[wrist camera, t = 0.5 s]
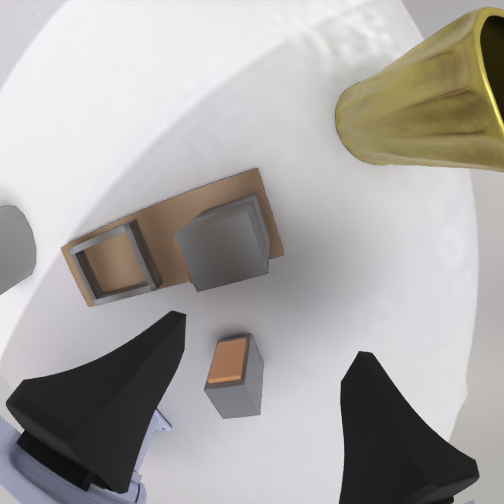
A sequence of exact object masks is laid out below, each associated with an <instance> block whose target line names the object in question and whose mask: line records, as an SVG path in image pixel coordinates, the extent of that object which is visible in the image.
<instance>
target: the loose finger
mask: <svg viewBox="0 0 504 504" xmlns="http://www.w3.org/2000/svg"><path fill="white" fill-rule="evenodd" d="M263 370H264V363H263V361H262V358H261V356H260V353H259V351H258V349H257V346H256V344H255V341H254V339H253V336H252V334H247V335H243V336H238V337H233V338H228V339H223V340H218V343H217V347H216V350H215V353H214V357H213V360H212V364H211V367H210V370H209V374H208V377H207V381H206V384H205V387H204V391H205V392H206V394H207V396H208V397H209V399H210V400H211V402H212V403H213V405H214V406H215V408H216V409H217V411H218V412H219V414H220V415H221V417H222V418H223V419H227V418H238V417H247V416H255V415H260V411H261V398H262V384H263Z"/></svg>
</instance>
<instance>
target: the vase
mask: <svg viewBox="0 0 504 504" xmlns="http://www.w3.org/2000/svg"><path fill="white" fill-rule="evenodd" d="M336 127H337V131H338V134H339V136H340V138H341V140H342V142H343V144H344V145H345V146H346V148H347V149H348V150H349V151H350V152H351V153H352V154H353V155H355V156H356V157H357V158H358V159H360V160H362V161H364V162H366V163H370V164H374V165H388V164H394V165H421V166H430V167H433V166H436V167H450V168H471V169H482V170H492V171H498V172H504V10H502V9H499V8H495V7H485V8H480V9H476V10H474V11H471V12H469V13H467V14H465V15H463V16H461V17H460V18H458V19H456V20H455V21H453V22H452V23H450V24H448V25H446V26H445V27H443V28H442V29H440V30H439V31H437V32H436V33H435V34H433V35H432V36H430V37H429V38H427V39H426V40H424V41H423V42H421V43H420V44H418V45H417V46H415V47H414V48H412V49H411V50H410V51H408V52H407V53H406V54H405V55H403V56H402V57H400V58H399V59H397V60H396V61H394V62H393V63H391V64H390V65H388V66H387V67H385V68H384V69H383V70H382V71H380V72H379V73H377V74H376V75H374V76H372V77H370V78H368V79H367V80H365V81H363V82H359V83H357V84H355V85H353V86H351V87H349V88H348V89H347V90H346V91H345V92H344V93H343V94H342V96H341V97H340V99H339V101H338V104H337V107H336Z"/></svg>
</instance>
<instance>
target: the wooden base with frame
mask: <svg viewBox="0 0 504 504" xmlns="http://www.w3.org/2000/svg"><path fill="white" fill-rule="evenodd" d="M61 250H62V252H63V255H64V257H65V259H66V262H67V264H68V266H69V269H70V271H71V273H72V275H73V277H74V279H75V281H76V283H77V286H78V288H79V290H80V292H81V294H82V296H83V298H84V299H85V301H86V303H87V305H88V307H92V306H97V305H101V304H105V303H109V302H113V301H117V300H121V299H124V298H128V297H132V296H136V295H140V294H144V293H148V292H151V291H155V290H158V289H161V288H165V287H169V286H172V285H176V284H180V283H184V282H187V281H190V282H191V283H194V286H195V288H196V290H197V292H199V291H203V290H207V289H211V288H215V287H219V286H223V285H226V284H230V283H234V282H238V281H242V280H246V279H249V278H253V277H257V276H261V275H264V274H268V266H269V259H272V258H275V257H279V256H282V255H284V252H283V247H282V244H281V240H280V237H279V234H278V231H277V227H276V224H275V221H274V218H273V215H272V211H271V208H270V205H269V202H268V199H267V196H266V193H265V190H264V187H263V183H262V180H261V177H260V174H259V171H258V168H256V169H253V170H250V171H247V172H244V173H241V174H238V175H235V176H232V177H229V178H226V179H223V180H220V181H217V182H214V183H211V184H208V185H206V186H203V187H200V188H197V189H194V190H192V191H189V192H186V193H184V194H181V195H178V196H176V197H173V198H171V199H168V200H166V201H163V202H161V203H158V204H156V205H153V206H151V207H148V208H146V209H143V210H141V211H138V212H136V213H134V214H131V215H129V216H127V217H124V218H122V219H120V220H118V221H115V222H113V223H111V224H109V225H106V226H104V227H102V228H100V229H98V230H95V231H93V232H91V233H89V234H87V235H85V236H83V237H81V238H79V239H77V240H74V241H72V242H70V243H68V244H67V245H65V246H63V247H61Z"/></svg>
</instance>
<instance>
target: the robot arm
mask: <svg viewBox="0 0 504 504" xmlns="http://www.w3.org/2000/svg"><path fill="white" fill-rule="evenodd" d="M185 327H186V314H183V313H179V312H176V311H170V312H169V313H167V314H166V315H165V316H164V317H162V318H161V319H160V320H158V321H157V322H156V323H154V324H153V325H152V326H150V327H149V328H148V329H146V330H145V331H143V332H142V333H141V334H139V335H138V336H136V337H135V338H133V339H132V340H130V341H129V342H127V343H125V344H124V345H122V346H121V347H119V348H117V349H116V350H114V351H112V352H110V353H108V354H107V355H105V356H103V357H100V358H98V359H96V360H94V361H92V362H89V363H87V364H85V365H82V366H79V367H77V368H74V369H71V370H68V371H65V372H61V373H57V374H54V375H49V376H45V377H39V378H33V379H26V380H23V381H22V382H21V383H20V385H19V386H18V387H17V388H16V390H15V391H14V392H13V394H12V395H11V396H10V397H9V398H8V400H7V401H6V406H7V408H8V410H9V411H10V413H11V414H12V415H13V417H14V418H15V419H16V420H17V422H18V423H19V424H20V425H21V426H22V427H23V429H25V430H24V432H23V433H22V435H21V434H20V433H19V432H18V431H17V430H16V429H15V428H14V427H13V426H12V425H10V424H9V423H8V422H7V421H6V420H5V419H4V418H2V417H1V416H0V485H1V486H2V487H3V488H4V489H5V490H6V491H7V492H8V493H9V494H10V495H11V496H12V497H13V498H14V499H15V500H16V501H17V502H18V503H19V504H145V503H146V498H147V492H146V489H145V486H144V484H143V483H141V482H140V480H141V477H142V476H141V475H139V474H138V472H139V469H140V467H141V464H142V461H143V459H144V456H145V454H146V451H147V449H148V446H149V444H150V441H151V439H152V436H153V433H154V431H171V427H170V425H169V424H168V423H167V422H166V421H165V420H164V418H163V417H162V416H161V415H160V413H159V412H158V411H157V410H156V408H157V406H158V404H159V402H160V401H161V399H162V397H163V395H164V393H165V391H166V389H167V387H168V386H169V384H170V382H171V380H172V378H173V376H174V374H175V372H176V370H177V368H178V365H179V363H180V360H181V358H182V355H183V352H184V348H185ZM340 405H341V415H342V425H343V436H344V470H343V479H342V488H341V494H340V500H339V504H452V503H453V502H454V498H453V496H454V495H456V494H457V493H459V492H461V491H462V490H464V489H466V488H467V487H469V486H470V485H472V484H473V483H474V482H476V481H477V480H478V479H479V471H478V467H477V463H476V460H474V459H472V458H471V457H469V456H467V455H465V454H464V453H462V452H460V451H459V450H457V449H456V448H455V447H453V446H452V445H450V444H449V443H448V442H446V441H445V440H444V439H443V438H441V437H440V436H439V435H438V434H437V433H436V432H435V431H434V430H432V429H431V428H430V427H429V426H428V425H427V424H426V423H425V422H424V421H423V419H422V418H421V417H420V416H419V415H418V414H417V413H416V412H415V411H414V409H413V408H412V407H411V406H410V405H409V403H408V402H407V401H406V400H405V398H404V397H403V396H402V394H401V393H400V392H399V390H398V389H397V387H396V386H395V385H394V383H393V382H392V380H391V379H390V377H389V376H388V375H387V373H386V372H385V370H384V369H383V367H382V366H381V364H380V363H379V362H378V360H377V359H376V357H375V356H374V355H373V353H370V352H363V351H359V352H358V354H357V356H356V358H355V359H354V361H353V363H352V365H351V366H350V368H349V370H348V371H347V373H346V375H345V376H344V378H343V379H342V381H341V393H340ZM464 504H475V503H474V500H471V501H469V502H466V503H464Z"/></svg>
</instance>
